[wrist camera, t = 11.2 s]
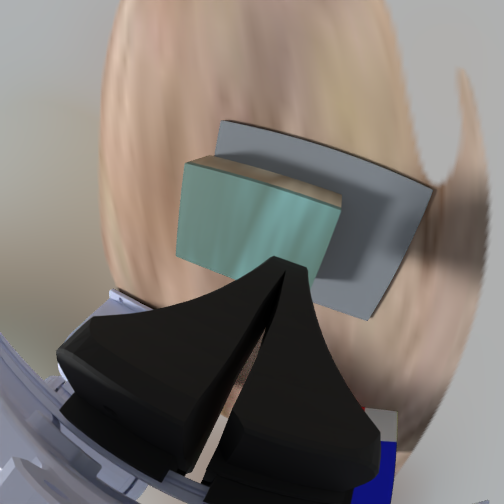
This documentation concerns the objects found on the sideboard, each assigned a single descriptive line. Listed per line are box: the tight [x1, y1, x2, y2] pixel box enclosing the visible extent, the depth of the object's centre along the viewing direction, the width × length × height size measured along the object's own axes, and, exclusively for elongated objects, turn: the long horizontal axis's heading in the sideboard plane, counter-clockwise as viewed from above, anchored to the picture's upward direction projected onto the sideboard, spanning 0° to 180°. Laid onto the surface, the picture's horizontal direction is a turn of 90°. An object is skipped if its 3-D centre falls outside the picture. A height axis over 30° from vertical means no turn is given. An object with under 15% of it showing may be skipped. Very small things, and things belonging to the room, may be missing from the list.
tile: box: [176, 155, 342, 289], centre depth 13 cm, size 2×5×7 cm
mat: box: [214, 120, 433, 321], centre depth 14 cm, size 11×8×1 cm
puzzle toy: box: [342, 407, 398, 504], centre depth 18 cm, size 10×10×10 cm
